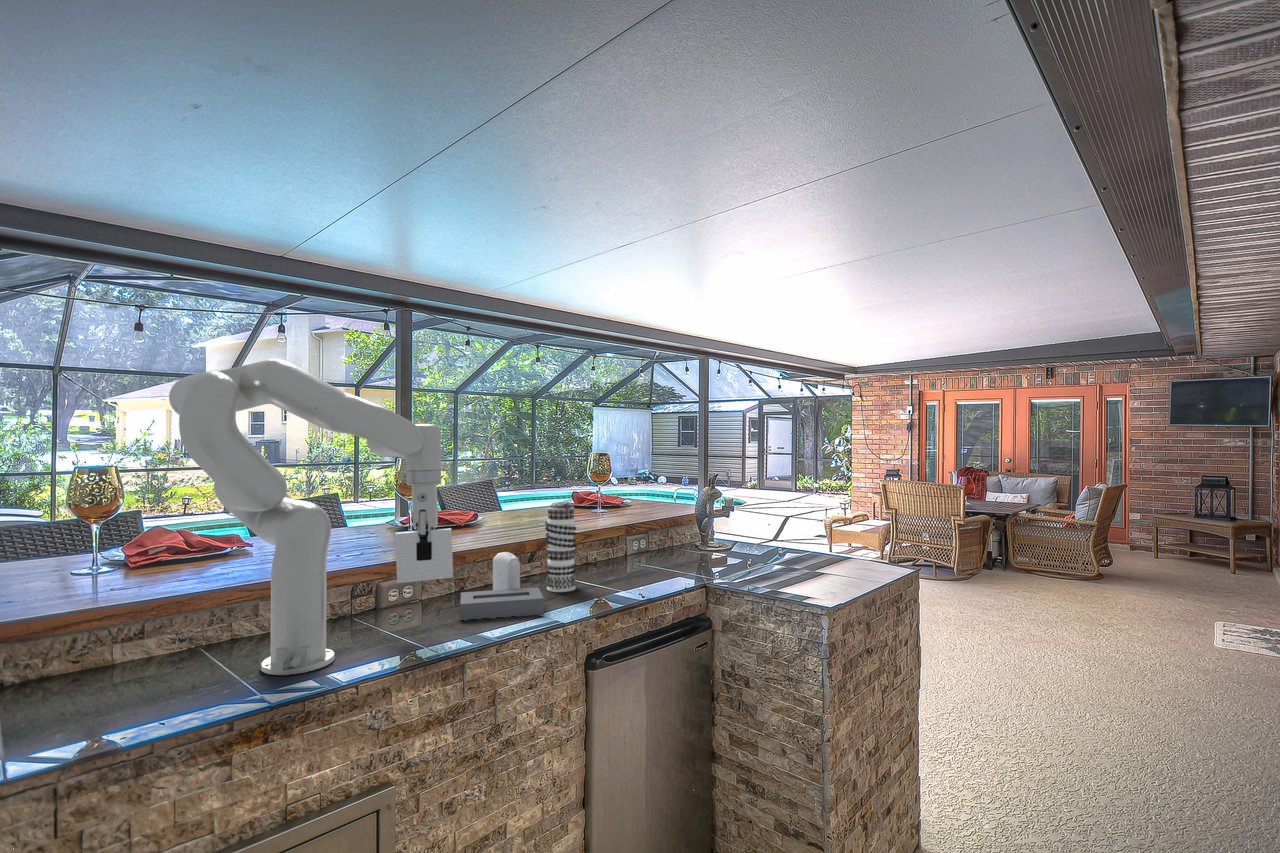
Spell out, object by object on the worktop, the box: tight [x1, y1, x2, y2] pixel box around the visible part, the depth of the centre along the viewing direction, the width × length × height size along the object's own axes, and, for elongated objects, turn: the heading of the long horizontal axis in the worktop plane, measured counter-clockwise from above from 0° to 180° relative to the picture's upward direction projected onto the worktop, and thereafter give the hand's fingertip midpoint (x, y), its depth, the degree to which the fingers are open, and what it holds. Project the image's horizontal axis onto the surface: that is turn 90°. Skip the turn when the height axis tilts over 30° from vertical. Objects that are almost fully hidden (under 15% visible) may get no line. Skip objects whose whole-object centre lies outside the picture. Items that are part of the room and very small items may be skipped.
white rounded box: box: [492, 551, 521, 590], centre depth 174 cm, size 10×4×12 cm, turn 39°
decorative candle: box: [544, 501, 577, 593], centre depth 184 cm, size 9×9×25 cm
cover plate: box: [394, 527, 454, 584], centre depth 143 cm, size 2×12×11 cm, turn 105°
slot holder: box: [459, 586, 545, 621], centre depth 160 cm, size 12×20×4 cm, turn 105°
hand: (424, 558), depth 143 cm, fingers closed on cover plate, 1 cm apart
